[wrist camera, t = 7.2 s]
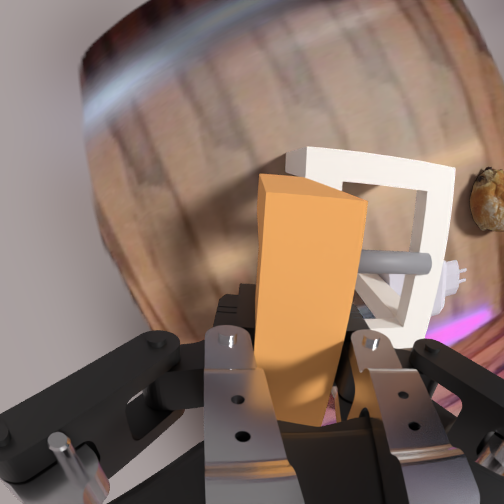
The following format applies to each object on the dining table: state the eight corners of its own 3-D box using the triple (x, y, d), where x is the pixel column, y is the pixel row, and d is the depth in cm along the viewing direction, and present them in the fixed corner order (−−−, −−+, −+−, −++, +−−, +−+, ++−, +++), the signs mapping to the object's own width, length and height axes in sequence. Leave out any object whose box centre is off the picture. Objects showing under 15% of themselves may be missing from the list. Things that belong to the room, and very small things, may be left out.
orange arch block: (259, 173, 17) (266, 191, 7) (303, 177, 17) (368, 201, 7) (248, 332, 20) (244, 464, 10) (286, 333, 20) (308, 464, 10)
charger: (455, 295, 44) (377, 315, 45) (458, 242, 42) (376, 258, 42) (470, 306, 40) (388, 330, 40) (475, 250, 37) (389, 269, 38)
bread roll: (453, 214, 44) (476, 246, 38) (470, 159, 37) (500, 187, 31) (492, 214, 44) (515, 243, 38) (510, 165, 37) (538, 191, 31)
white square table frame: (286, 152, 38) (309, 145, 22) (388, 163, 38) (461, 168, 22) (278, 287, 43) (291, 358, 27) (373, 288, 43) (425, 351, 27)
